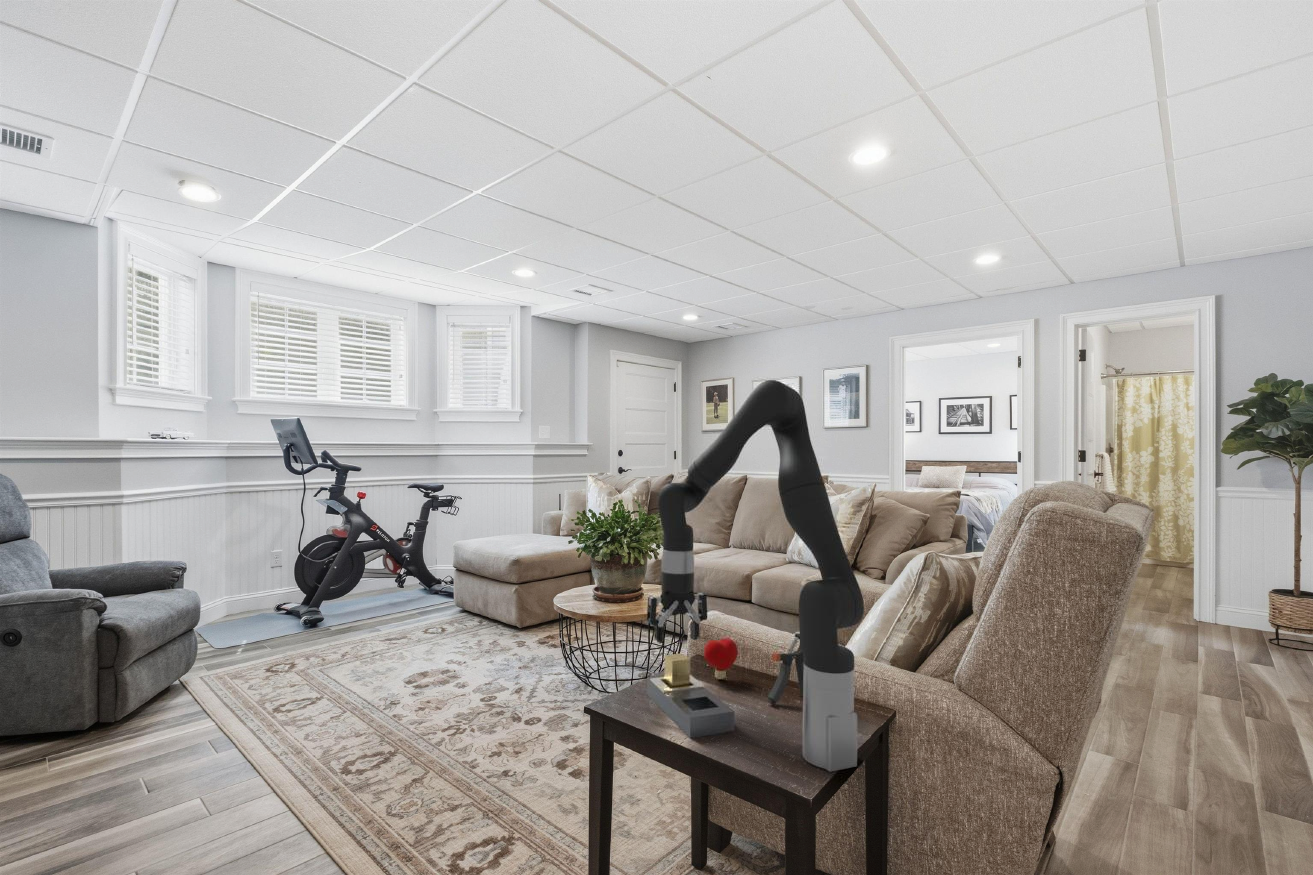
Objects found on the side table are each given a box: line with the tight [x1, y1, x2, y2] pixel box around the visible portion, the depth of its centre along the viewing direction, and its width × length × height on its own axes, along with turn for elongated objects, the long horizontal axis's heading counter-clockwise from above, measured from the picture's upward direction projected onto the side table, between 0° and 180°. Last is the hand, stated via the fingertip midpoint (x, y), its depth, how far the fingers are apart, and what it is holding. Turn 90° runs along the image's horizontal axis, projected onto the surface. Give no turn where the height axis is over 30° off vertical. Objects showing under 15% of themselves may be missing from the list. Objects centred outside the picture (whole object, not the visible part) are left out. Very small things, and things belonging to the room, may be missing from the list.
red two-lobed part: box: [703, 637, 739, 681], centre depth 156 cm, size 9×7×10 cm
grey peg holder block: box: [646, 674, 736, 739], centre depth 136 cm, size 24×10×4 cm, turn 22°
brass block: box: [663, 653, 691, 688], centre depth 141 cm, size 4×4×10 cm
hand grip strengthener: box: [766, 632, 804, 706], centre depth 143 cm, size 2×13×15 cm, turn 123°
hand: (677, 640), depth 141 cm, fingers open, 8 cm apart
